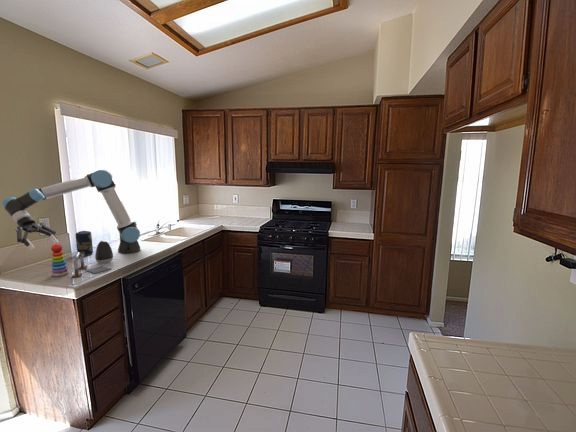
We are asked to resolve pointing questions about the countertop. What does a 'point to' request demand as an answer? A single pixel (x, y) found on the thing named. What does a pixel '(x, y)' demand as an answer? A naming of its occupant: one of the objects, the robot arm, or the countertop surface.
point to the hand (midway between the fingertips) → (45, 246)
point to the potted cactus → (103, 253)
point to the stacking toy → (58, 261)
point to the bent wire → (77, 265)
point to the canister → (84, 242)
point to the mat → (98, 269)
